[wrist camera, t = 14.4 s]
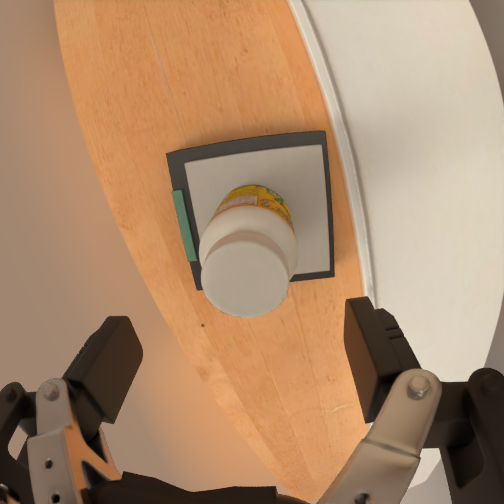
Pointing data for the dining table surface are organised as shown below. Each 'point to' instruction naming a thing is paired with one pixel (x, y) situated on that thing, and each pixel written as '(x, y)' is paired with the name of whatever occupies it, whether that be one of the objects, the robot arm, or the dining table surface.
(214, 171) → the scale
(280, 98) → the dining table surface
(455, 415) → the robot arm
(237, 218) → the supplement bottle
